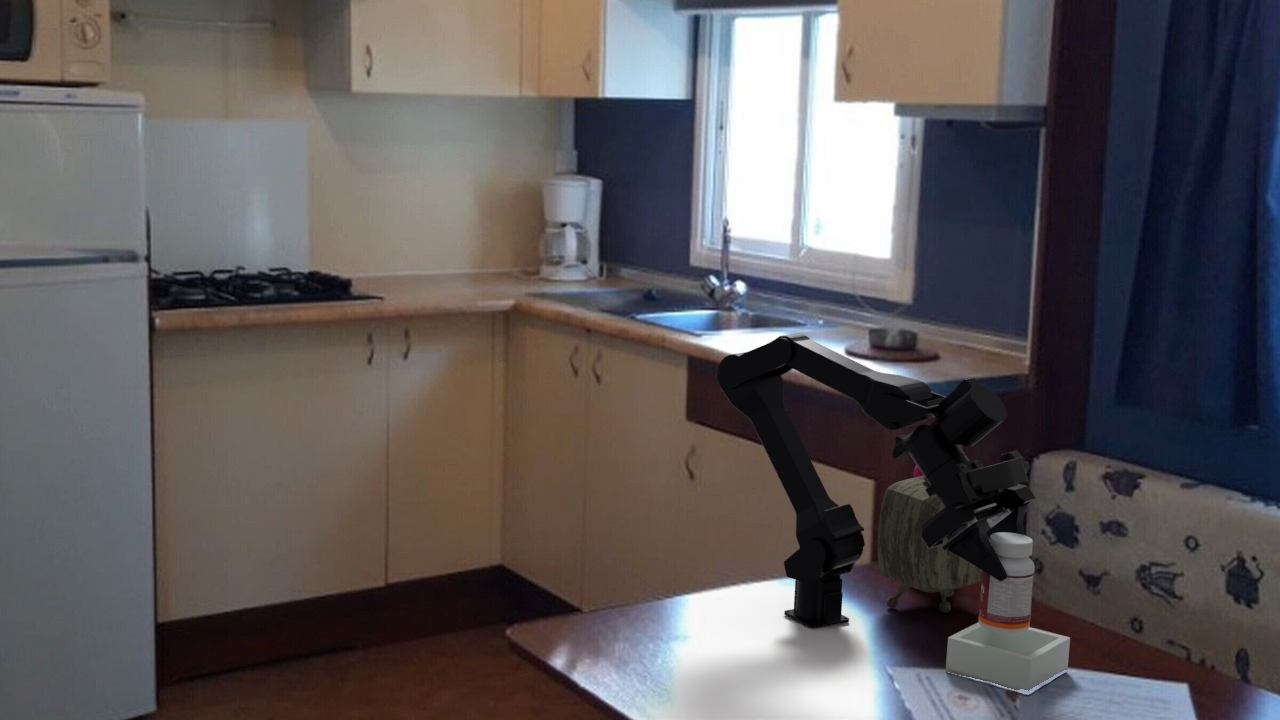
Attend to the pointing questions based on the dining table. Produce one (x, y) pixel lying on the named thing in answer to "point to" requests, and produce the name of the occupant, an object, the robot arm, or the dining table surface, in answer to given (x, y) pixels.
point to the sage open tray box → (1007, 656)
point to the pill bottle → (1008, 586)
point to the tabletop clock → (918, 545)
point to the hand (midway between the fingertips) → (1017, 574)
